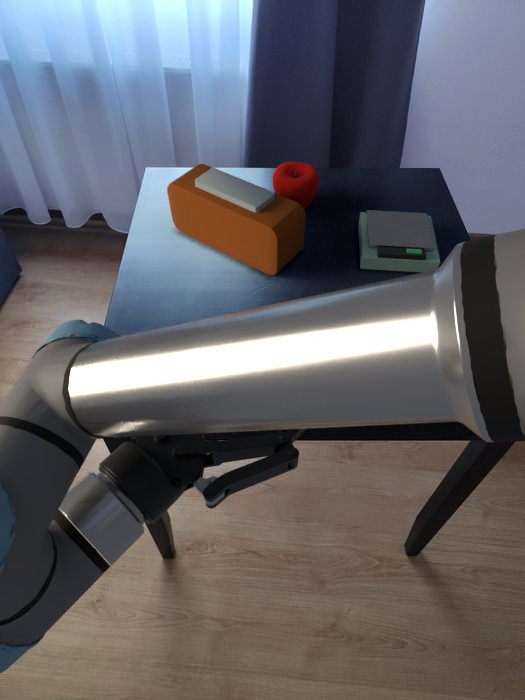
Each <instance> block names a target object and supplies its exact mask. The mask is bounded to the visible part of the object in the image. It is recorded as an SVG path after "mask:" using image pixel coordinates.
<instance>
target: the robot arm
mask: <svg viewBox="0 0 525 700" xmlns="http://www.w3.org/2000/svg"><path fill="white" fill-rule="evenodd" d="M29 361H30V362H29V363H28V364H27V366H26V367H25V369H24V370H23V371H22V373H21V374H20V376H19V377H18V379H17V380H16V382H15V384H14V385H13V386H12V388H11V389H10V390H9V392H8V393H7V395H6V396H5V398H4V399H3V401H1V403H0V674H2V673H5V672H6V671H7V670H8V669H9V668H11V667H12V666H13V664H16V662H17V661H18V660H19V659H21V658H22V656H24V655H25V654H26V653H27V652H28V651H29V650H30V649H32V648H34V647H35V646H37V645H38V644H39V643H40V642H41V641H42V639H43V638H44V637H45V635H46V633H48V632H49V631H50V629H51V628H52V627H53V626H54V625H55V624H56V623H57V622H58V621H59V620H60V619H61V618H62V617H63V616H64V615H65V614H66V613H67V612H68V611H69V610H70V609H71V608H72V607H73V606H74V605H75V604H76V603H77V602H78V601H79V600H80V599H81V597H83V596H84V594H86V593H87V591H88V590H89V589H90V588H92V586H93V585H94V584H95V583H96V582H97V581H98V580H99V579H100V578H101V577H102V576H104V573H105V572H107V571H108V570H109V569H110V568H111V566H113V565H114V564H115V563H116V562H117V561H118V560H119V559H120V558H121V557H122V556H123V555H124V554H125V553H126V552H127V551H128V550H129V549H130V548H131V547H132V546H133V545H134V544H135V543H136V542H137V541H138V540H139V539H140V538H141V537H142V536H143V535H144V534H145V527H144V524H148V525H150V524H155V523H156V522H157V521H158V520H159V519H160V518H161V517H162V516H163V515H164V514H165V513H166V512H167V511H168V510H169V509H170V508H171V507H172V505H174V504H175V503H176V502H177V501H178V500H179V499H180V497H181V496H183V494H184V493H186V491H189V490H190V489H193V488H194V489H195V490H196V491H197V493H199V495H200V496H201V497H202V498H203V500H204V504H205V506H206V508H208V509H210V510H211V509H215V508H217V507H218V506H219V505H220V504H221V503H222V502H224V501H225V500H226V499H227V498H228V497H229V496H231V495H233V494H236V493H239V492H241V491H243V490H246V489H248V488H250V487H254V486H255V485H258V484H262V483H264V482H266V481H268V480H270V479H273V478H277V477H278V476H280V475H283V474H286V473H288V472H292V471H293V470H295V469H296V468H297V467H298V465H299V459H300V450H299V449H298V448H296V447H295V446H294V443H295V441H297V440H298V438H299V437H300V436H301V435H302V434H303V433H304V432H305V431H306V430H307V429H327V428H347V427H367V426H369V427H370V426H388V425H389V426H391V425H393V426H394V425H410V424H413V425H414V424H431V423H433V424H434V423H435V424H436V423H453V422H454V423H456V422H458V423H461V424H463V425H464V426H465V427H466V428H468V429H469V430H470V431H472V433H474V434H476V435H477V436H478V437H479V438H480V439H482V440H483V441H484V442H486V443H510V442H511V443H513V442H514V443H516V442H518V443H519V442H525V228H522V229H517V230H512V231H506V232H501V233H497V234H492V235H487V236H483V237H480V238H475V239H471V240H467V241H463V242H460V243H457V244H456V245H455V246H454V247H453V249H452V250H451V251H450V253H449V254H448V255H447V257H446V258H445V260H443V262H442V264H441V265H439V267H438V269H436V270H433V271H428V272H423V273H422V272H418V273H415V274H409V275H404V276H400V277H396V278H391V279H386V280H382V281H377V282H371V283H367V284H361V285H357V286H353V287H348V288H344V289H339V290H335V291H334V290H333V291H330V292H324V293H320V294H319V293H318V294H315V295H310V296H305V297H301V298H296V299H292V300H287V301H282V302H277V303H272V304H267V305H264V306H259V307H254V308H249V309H245V310H240V311H235V312H230V313H225V314H222V315H216V316H211V317H207V318H201V319H197V320H192V321H187V322H183V323H182V322H181V323H178V324H172V325H169V326H164V327H159V328H154V329H149V330H144V331H140V332H135V333H130V334H125V335H120V334H119V333H118V332H117V331H115V330H113V329H112V328H110V327H108V326H105V325H103V324H101V323H99V322H96V321H92V322H89V323H88V322H87V321H86V320H83V319H71V320H67V321H65V322H62V323H61V324H59V326H57V327H56V328H55V329H54V331H52V333H51V334H50V335H49V337H48V338H46V340H45V341H44V342H43V343H42V344H41V345H39V346H38V347H37V348H36V351H35V352H34V353H33V355H32V357H31V360H29ZM263 431H264V432H265V431H276V432H273V433H265V434H258V435H252V436H251V435H250V436H244V437H237V438H231V439H223V440H219V439H217V438H214V439H213V438H212V439H206V437H205V435H204V434H214V433H215V434H217V433H219V434H221V433H239V432H241V433H242V432H243V433H244V432H263ZM116 438H130V439H129V440H127V441H125V442H122V443H121V444H120V445H119V446H118V447H117V448H116V449H115V450H113V451H112V452H111V453H110V454H108V456H107V457H105V458H104V459H103V460H102V461H100V463H99V466H98V471H99V472H98V473H95V472H89V471H88V472H87V474H85V475H84V476H83V477H82V478H81V479H79V481H77V482H76V483H75V484H74V485H73V483H74V481H75V479H76V477H77V475H78V473H79V472H80V470H81V469H82V466H83V465H84V463H85V461H86V460H87V457H88V455H89V454H90V452H91V450H92V448H93V446H94V444H95V443H96V441H97V440H103V439H116ZM251 459H252V460H253V459H257V460H254V461H253V462H249V463H248V464H245V465H242V466H240V467H237V468H234V469H232V470H229V471H227V472H224V473H223V474H221V475H220V476H218V477H217V476H213V475H212V476H210V477H207V478H205V477H204V471H205V469H206V468H212V467H219V466H221V465H222V464H225V463H232V462H239V461H245V460H246V461H247V460H251ZM72 485H73V486H72ZM71 486H72V487H71Z"/></svg>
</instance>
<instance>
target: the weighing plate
mask: <svg viewBox="0 0 525 700" xmlns="http://www.w3.org/2000/svg"><path fill="white" fill-rule="evenodd" d="M365 213H366V217H367V233H368V247H376V248H378V247H393V248H410V249H425V250H427V251H433V249H434V246H433V241H432V236H431V231H430V226H429V221H428V216H429V215H428V213H427V212H410V211H394V210H393V211H391V210H375V209H374V210H373V209H367V210H366V211H365Z"/></svg>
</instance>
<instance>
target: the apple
mask: <svg viewBox="0 0 525 700" xmlns="http://www.w3.org/2000/svg"><path fill="white" fill-rule="evenodd" d="M319 185H320V175H319V174H318V171H317V169H316V167H315V166H313V164H310V163H308V162H302V161H301V162H300V161H285V162H283V163H281V164H279V165H277V167H276V169H275V170H274V171H273V173H272V188H273V192H274V193H276V194H278V195H281V196H283V197H286V198H288V199H291V200H293V201H296V202H297V203H299V204H300V205H301V206H302V207H303V209H304V211H305V210H306V209H308V208H309V207H310V205H311V204H312V202H313V200H314V198H315V197H316V193H317V191H318V188H319Z"/></svg>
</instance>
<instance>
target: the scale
mask: <svg viewBox="0 0 525 700" xmlns="http://www.w3.org/2000/svg"><path fill="white" fill-rule="evenodd" d="M427 216H428V221H429V226H430V231H431V236H432V241H433V246H434V249H433V251H427V250H425V249H410V248H393V247H378V248H376V247H368V233H367V217H366V211H364V212H362V211H361V212H360V213H359V217H358V224H357V225H358V243H359V267H360V268H359V269H360V270H374V271H375V270H376V271H390V272H391V271H392V272H407V273H423V272H428V271H433V270H436V269H438V268H439V267H440V266H441V265H440V264H441V259H440V253H439V249H438V245H437V239H436V235H435V234H436V233H435V230H434V224H433V219H432V215H427Z"/></svg>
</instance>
